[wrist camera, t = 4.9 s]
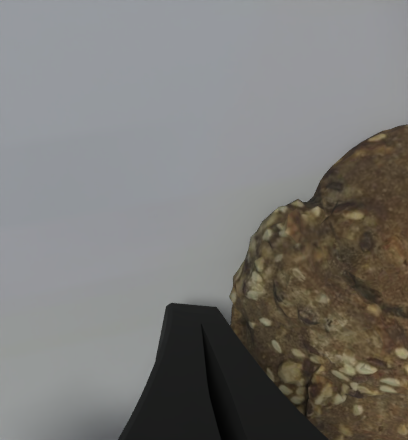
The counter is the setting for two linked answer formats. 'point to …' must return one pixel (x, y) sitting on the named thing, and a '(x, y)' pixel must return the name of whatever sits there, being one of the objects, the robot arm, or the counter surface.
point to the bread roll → (336, 295)
